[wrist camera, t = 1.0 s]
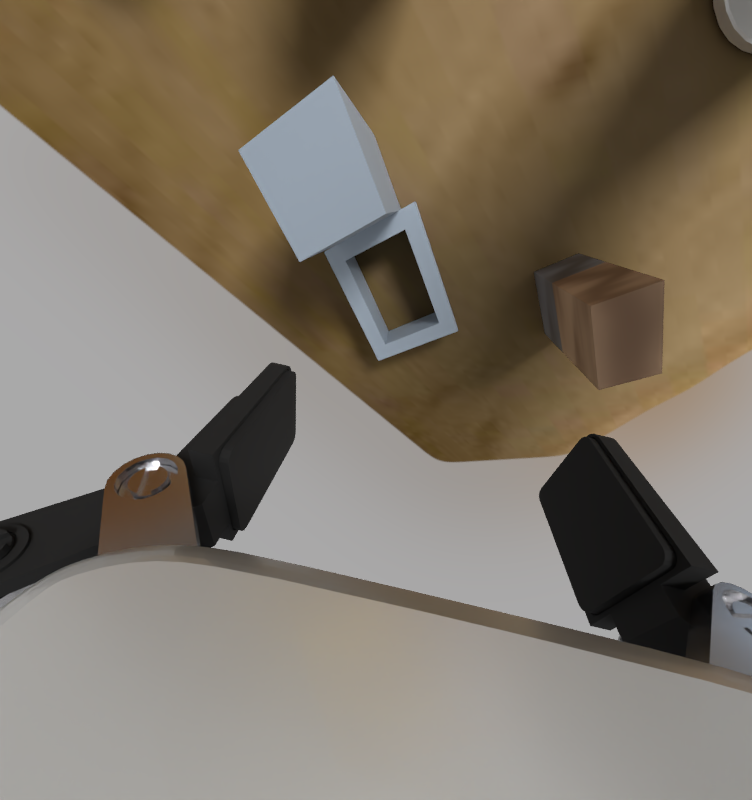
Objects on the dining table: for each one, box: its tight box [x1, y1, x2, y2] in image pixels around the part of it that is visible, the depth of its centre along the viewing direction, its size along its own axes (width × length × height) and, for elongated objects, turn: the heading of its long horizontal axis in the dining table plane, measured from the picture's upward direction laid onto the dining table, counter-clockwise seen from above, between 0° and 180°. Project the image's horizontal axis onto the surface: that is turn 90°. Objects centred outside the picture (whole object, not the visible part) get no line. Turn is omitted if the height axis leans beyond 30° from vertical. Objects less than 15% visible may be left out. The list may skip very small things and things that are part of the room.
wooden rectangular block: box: [534, 254, 664, 390], centre depth 25 cm, size 4×7×12 cm, turn 25°
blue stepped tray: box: [239, 76, 458, 361], centre depth 24 cm, size 9×18×14 cm, turn 25°
